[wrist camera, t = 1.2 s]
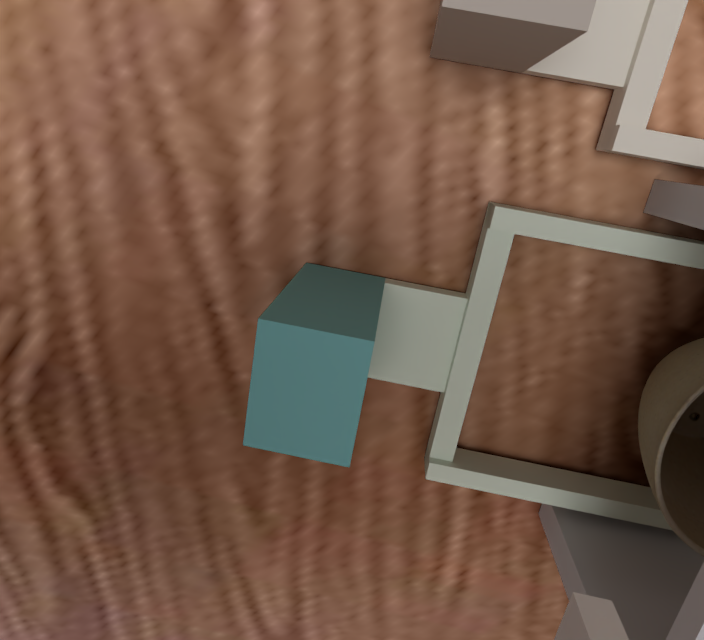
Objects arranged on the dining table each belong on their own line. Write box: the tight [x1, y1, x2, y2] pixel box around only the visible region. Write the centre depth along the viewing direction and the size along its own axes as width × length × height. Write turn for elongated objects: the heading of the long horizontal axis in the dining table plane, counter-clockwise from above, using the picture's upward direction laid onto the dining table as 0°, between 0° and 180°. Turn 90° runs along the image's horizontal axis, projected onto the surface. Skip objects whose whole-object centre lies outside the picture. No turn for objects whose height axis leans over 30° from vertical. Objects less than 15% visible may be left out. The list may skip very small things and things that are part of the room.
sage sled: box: [243, 202, 704, 530], centre depth 23 cm, size 28×14×9 cm, turn 80°
